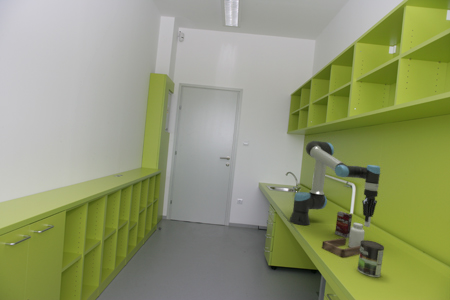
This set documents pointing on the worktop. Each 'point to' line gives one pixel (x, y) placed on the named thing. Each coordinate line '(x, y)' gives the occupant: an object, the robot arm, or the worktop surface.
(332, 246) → the frame
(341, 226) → the supplement box
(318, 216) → the worktop surface
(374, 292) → the worktop surface
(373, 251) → the coffee can
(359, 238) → the pill bottle
